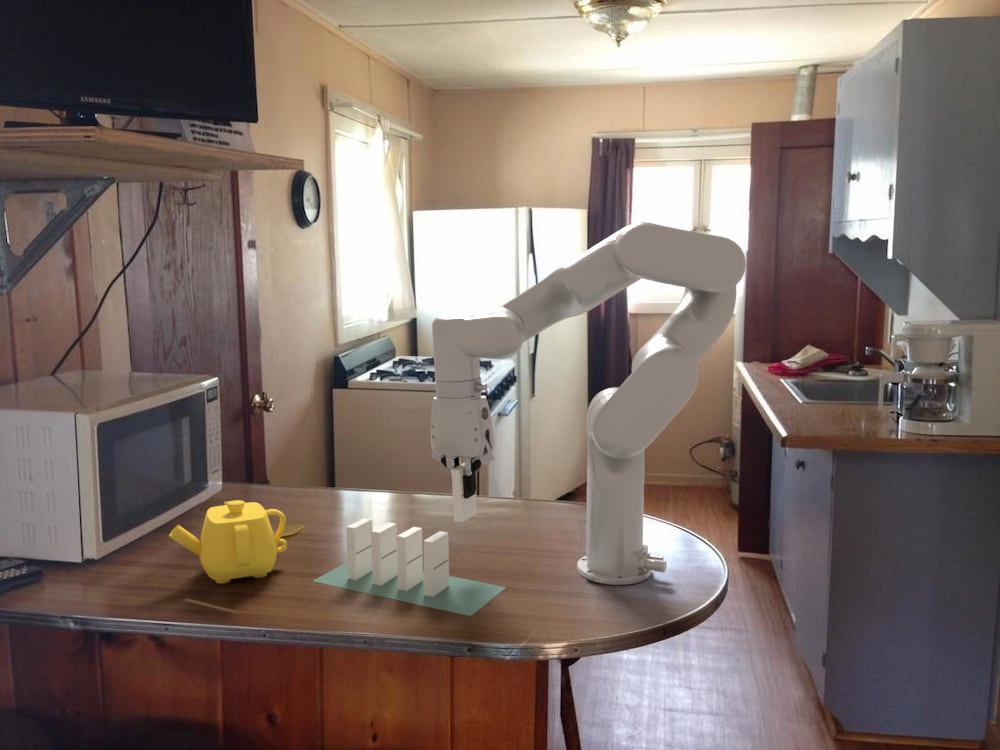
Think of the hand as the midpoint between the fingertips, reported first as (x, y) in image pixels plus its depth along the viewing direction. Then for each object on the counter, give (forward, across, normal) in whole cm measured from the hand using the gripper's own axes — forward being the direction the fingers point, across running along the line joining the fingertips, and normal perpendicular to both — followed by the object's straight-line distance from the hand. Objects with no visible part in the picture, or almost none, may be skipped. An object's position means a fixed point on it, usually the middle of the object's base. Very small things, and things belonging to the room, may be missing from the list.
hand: (464, 495), depth 145 cm
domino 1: (+12, +15, +11) cm, 22 cm away
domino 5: (+4, 0, 0) cm, 4 cm away
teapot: (+12, +35, +20) cm, 42 cm away
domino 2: (+12, +10, +11) cm, 19 cm away
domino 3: (+13, +5, +11) cm, 17 cm away
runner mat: (+13, +5, +11) cm, 18 cm away
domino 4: (+13, 0, +11) cm, 17 cm away
